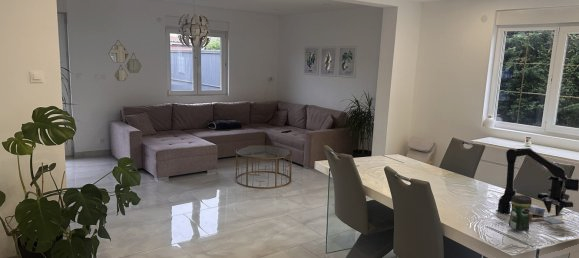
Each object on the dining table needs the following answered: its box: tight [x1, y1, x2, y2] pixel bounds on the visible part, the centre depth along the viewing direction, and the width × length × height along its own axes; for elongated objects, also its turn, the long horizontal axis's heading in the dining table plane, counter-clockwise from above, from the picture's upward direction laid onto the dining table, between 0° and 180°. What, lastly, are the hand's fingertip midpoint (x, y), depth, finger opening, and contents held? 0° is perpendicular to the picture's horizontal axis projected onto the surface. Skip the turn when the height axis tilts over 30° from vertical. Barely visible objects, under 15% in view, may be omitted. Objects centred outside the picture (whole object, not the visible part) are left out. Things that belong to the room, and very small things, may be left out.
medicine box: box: [529, 204, 546, 217], centre depth 250 cm, size 8×4×9 cm
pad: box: [542, 217, 565, 225], centre depth 240 cm, size 9×8×1 cm
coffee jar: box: [508, 194, 533, 232], centre depth 224 cm, size 10×8×19 cm
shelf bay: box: [529, 213, 544, 223], centre depth 243 cm, size 10×8×4 cm
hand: (552, 214), depth 239 cm, fingers open, 5 cm apart
